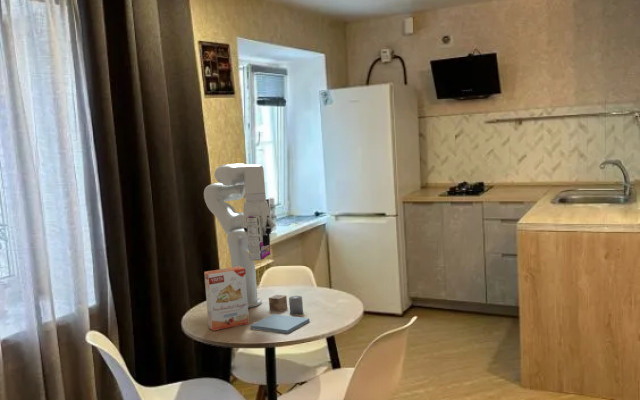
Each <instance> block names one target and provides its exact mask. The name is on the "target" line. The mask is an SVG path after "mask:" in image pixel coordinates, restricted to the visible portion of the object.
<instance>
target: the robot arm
mask: <svg viewBox="0 0 640 400" xmlns="http://www.w3.org/2000/svg"><path fill="white" fill-rule="evenodd" d="M214 179H215V180H216V181H217V182H214V183H211V184H209V185H207V186H206V187H205V188H204V191H203V199H204V202H205V204H206V206H207V208H208V210H209V211H210V212H211V214H213V215H214V216H215V218H216V219H217V221H218V222H219V224H220V226H221V227H222V229H223V231H224V233H225V234H226V235H227V236H226V241H227V247H228V250H229V255H230V264H231V265H230V266H231V268H232V267H239V266H240V267H242V268H244V269H245V272H246V286H247V301H248V309H249V308H254V307H257V306H260V305H261V304H263V303H262V299H261V298H259V297H258V287H257V275H256V262H255V260H250V254H249V243H248V232H247V220H246V218H247V217H249V216H260V224H261V229H262V231H263V234H264V236H263V245H264V246H267V245H270V244H271V233H272V231H273V230H274V228H275V227H276V224H275V223H274V222H273V220H272V219H271V211H270V207H269V203H268V201H267V199H266V198H267V197H266V184H265V170H264V167H263V165H261V164H253V163H251V164H245V163H228V164H222V165H219V166H218V167H217V168H216V169H215V171H214ZM241 199H245V202H244V203H243V207H242V208H243V209H242V211H243V212H237V210H236V208H235V207H234V206H233V205H231V204H230V203H228V202H229V201H230V202H232V201H238V200H239V201H240V200H241ZM265 229H266V230H265ZM270 246H271V245H270Z"/></svg>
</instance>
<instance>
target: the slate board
mask: <svg viewBox="0 0 640 400" xmlns="http://www.w3.org/2000/svg"><path fill="white" fill-rule="evenodd" d="M310 322H311V321H310V318H309V317H308V318H307V317H301V316H294V315H293V316H292V315H283V314H274V313H273V314H271V315H269V316H266V317H264V318H262V319H261V320H259V321H257V322H255V323H252V324H250V329H251V330H257V331H258V330H259V331H265V332H273V333H279V334H290V333H292V332H294V331H295V330H297V329H299V328H300V327H302V326H304V325H306V324H308V323H310Z"/></svg>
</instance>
